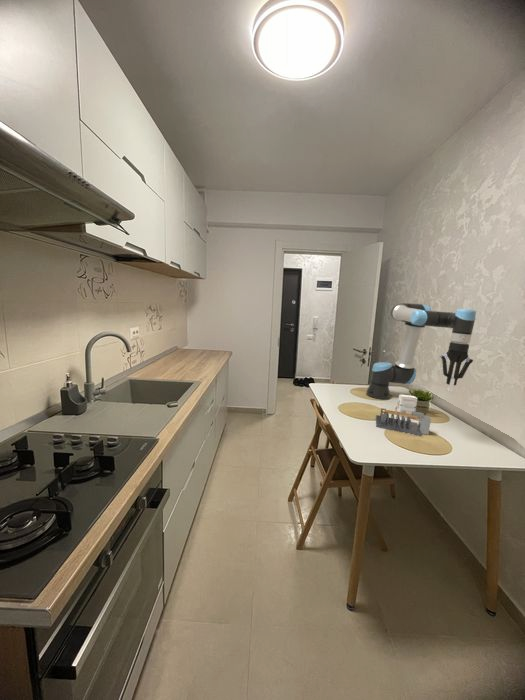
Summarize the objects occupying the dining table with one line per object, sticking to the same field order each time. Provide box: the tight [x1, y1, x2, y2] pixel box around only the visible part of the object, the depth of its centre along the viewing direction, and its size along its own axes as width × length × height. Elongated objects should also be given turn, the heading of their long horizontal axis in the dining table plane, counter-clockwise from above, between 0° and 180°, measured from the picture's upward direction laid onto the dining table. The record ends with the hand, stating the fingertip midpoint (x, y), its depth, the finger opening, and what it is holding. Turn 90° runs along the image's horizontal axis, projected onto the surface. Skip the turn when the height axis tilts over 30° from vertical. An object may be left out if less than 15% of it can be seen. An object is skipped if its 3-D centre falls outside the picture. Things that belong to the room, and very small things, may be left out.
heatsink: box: [375, 407, 422, 437], centre depth 144 cm, size 12×20×7 cm, turn 69°
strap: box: [382, 408, 419, 419], centre depth 144 cm, size 4×16×2 cm, turn 69°
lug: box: [412, 411, 432, 435], centre depth 141 cm, size 5×8×9 cm, turn 69°
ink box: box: [396, 394, 418, 419], centre depth 161 cm, size 9×5×12 cm, turn 84°
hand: (449, 391), depth 135 cm, fingers closed
